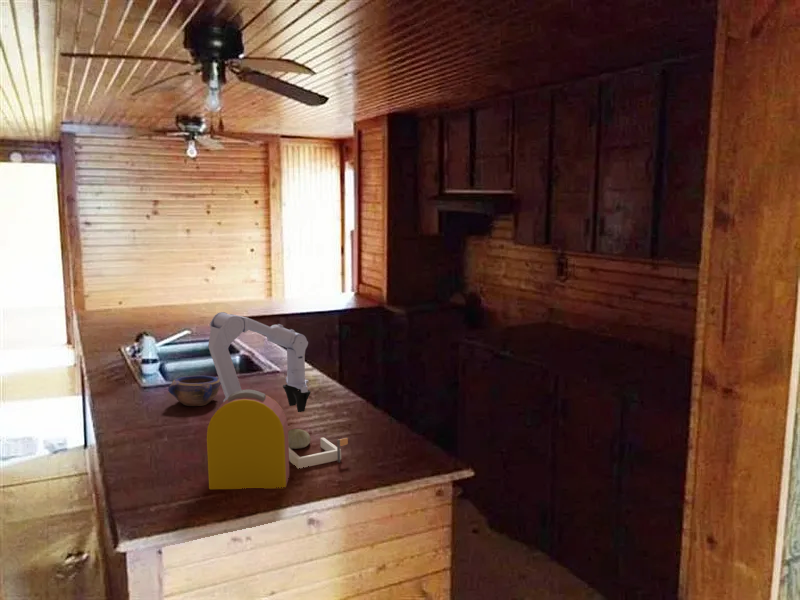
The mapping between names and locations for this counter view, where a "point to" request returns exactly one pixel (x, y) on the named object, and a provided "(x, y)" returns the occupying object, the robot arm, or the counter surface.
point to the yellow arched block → (248, 443)
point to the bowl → (195, 389)
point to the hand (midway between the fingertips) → (296, 408)
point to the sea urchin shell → (298, 438)
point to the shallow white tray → (319, 454)
